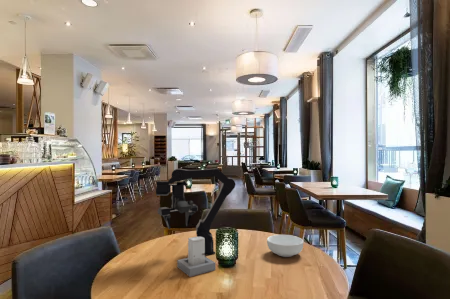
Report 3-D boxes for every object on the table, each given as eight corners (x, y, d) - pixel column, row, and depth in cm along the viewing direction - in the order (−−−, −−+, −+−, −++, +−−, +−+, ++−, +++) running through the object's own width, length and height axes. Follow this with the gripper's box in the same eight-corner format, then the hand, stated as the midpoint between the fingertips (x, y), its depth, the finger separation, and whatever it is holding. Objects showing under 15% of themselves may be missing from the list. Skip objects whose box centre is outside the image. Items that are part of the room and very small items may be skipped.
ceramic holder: (201, 261, 129) (201, 254, 129) (215, 269, 119) (215, 262, 119) (177, 267, 122) (177, 260, 122) (189, 276, 112) (189, 269, 112)
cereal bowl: (263, 257, 132) (263, 242, 132) (271, 247, 148) (271, 233, 148) (301, 262, 126) (300, 246, 126) (305, 250, 141) (305, 236, 142)
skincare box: (192, 270, 118) (192, 240, 118) (187, 266, 121) (187, 237, 122) (205, 266, 121) (205, 238, 121) (200, 263, 125) (200, 235, 125)
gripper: (166, 198, 127) (166, 234, 126) (203, 195, 137) (203, 227, 137) (157, 195, 136) (157, 229, 136) (192, 192, 146) (192, 223, 146)
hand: (178, 227), depth 138 cm, fingers open, 9 cm apart
